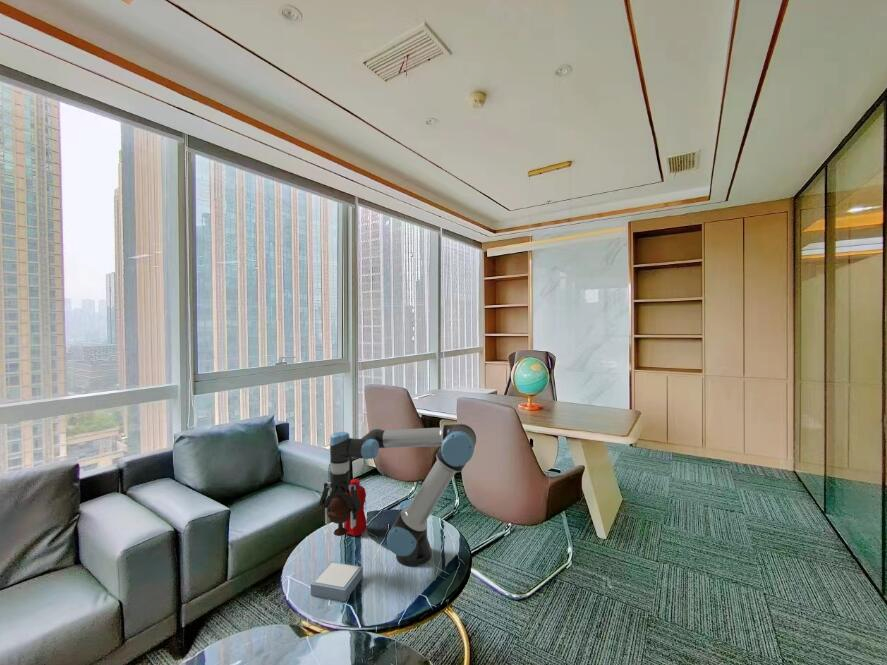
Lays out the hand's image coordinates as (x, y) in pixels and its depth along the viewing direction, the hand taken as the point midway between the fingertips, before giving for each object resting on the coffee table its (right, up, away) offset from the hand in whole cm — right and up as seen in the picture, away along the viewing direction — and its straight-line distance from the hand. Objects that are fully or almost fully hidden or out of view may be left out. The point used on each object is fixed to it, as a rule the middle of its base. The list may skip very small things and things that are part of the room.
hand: (340, 524), depth 156 cm
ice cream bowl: (0, -3, 0) cm, 3 cm away
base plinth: (+2, -18, -10) cm, 21 cm away
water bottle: (0, -18, +29) cm, 34 cm away
